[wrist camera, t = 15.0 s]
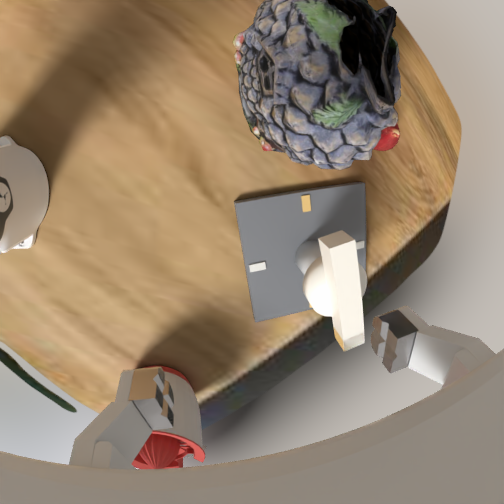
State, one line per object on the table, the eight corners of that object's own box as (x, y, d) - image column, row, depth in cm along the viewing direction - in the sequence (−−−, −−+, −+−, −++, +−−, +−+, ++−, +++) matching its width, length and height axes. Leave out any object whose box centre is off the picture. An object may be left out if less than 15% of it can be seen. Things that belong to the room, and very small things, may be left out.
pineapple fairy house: (210, 35, 32) (228, -73, 9) (311, 21, 33) (412, -53, 10) (247, 171, 40) (312, 220, 17) (343, 148, 41) (472, 176, 18)
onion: (350, 146, 41) (378, 150, 34) (351, 110, 39) (380, 107, 32) (381, 150, 42) (411, 156, 35) (382, 116, 40) (413, 116, 33)
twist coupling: (290, 237, 34) (306, 256, 29) (350, 217, 35) (374, 232, 29) (312, 332, 40) (326, 358, 35) (362, 312, 41) (380, 335, 35)
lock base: (253, 317, 49) (265, 353, 41) (233, 201, 41) (243, 219, 33) (360, 290, 51) (386, 318, 43) (360, 181, 43) (394, 194, 35)
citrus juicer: (176, 418, 57) (178, 495, 39) (109, 383, 50) (93, 464, 32) (222, 386, 55) (235, 471, 36) (151, 342, 48) (138, 436, 30)
